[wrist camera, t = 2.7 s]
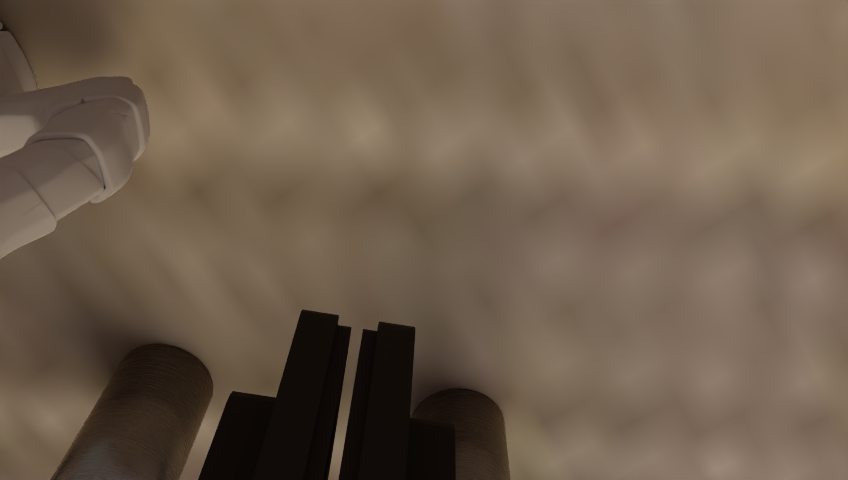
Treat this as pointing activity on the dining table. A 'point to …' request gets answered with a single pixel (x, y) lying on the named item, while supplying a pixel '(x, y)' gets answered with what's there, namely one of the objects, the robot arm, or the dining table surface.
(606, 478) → the dining table surface
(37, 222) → the mug
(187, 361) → the posts
